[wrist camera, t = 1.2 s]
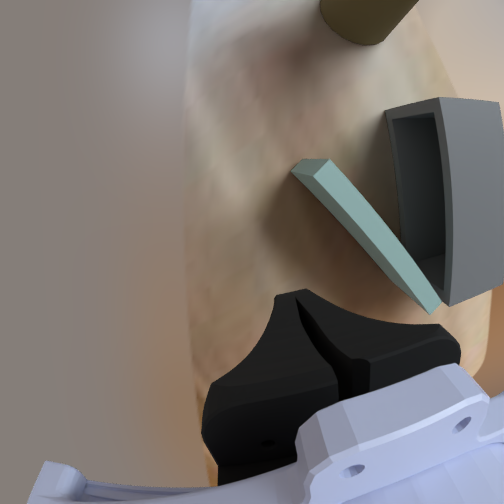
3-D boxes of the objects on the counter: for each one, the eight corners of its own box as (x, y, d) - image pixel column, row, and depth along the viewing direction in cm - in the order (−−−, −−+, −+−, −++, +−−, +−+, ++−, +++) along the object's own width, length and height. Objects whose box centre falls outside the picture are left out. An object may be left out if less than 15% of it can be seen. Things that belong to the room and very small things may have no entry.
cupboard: (452, 255, 23) (503, 283, 16) (401, 270, 23) (449, 306, 16) (441, 109, 19) (498, 102, 12) (384, 110, 19) (438, 97, 13)
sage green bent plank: (400, 269, 23) (442, 301, 17) (390, 280, 23) (429, 314, 17) (302, 159, 20) (329, 159, 14) (290, 171, 20) (313, 176, 14)
